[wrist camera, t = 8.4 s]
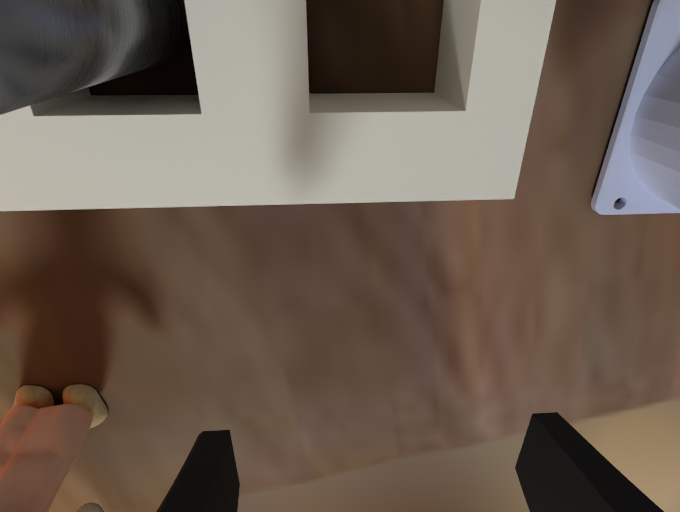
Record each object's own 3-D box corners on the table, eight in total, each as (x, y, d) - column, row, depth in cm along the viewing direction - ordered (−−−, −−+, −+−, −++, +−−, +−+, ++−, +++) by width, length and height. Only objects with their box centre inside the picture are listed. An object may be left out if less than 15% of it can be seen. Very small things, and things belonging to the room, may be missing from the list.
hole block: (532, -183, 12) (610, -252, 9) (476, 166, 17) (513, 199, 14) (-70, -200, 11) (-213, -283, 8) (56, 174, 16) (-4, 211, 13)
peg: (186, -37, 13) (5, -120, 5) (193, 68, 14) (59, 129, 7) (83, -50, 13) (-275, -157, 5) (100, 60, 14) (-155, 113, 6)
